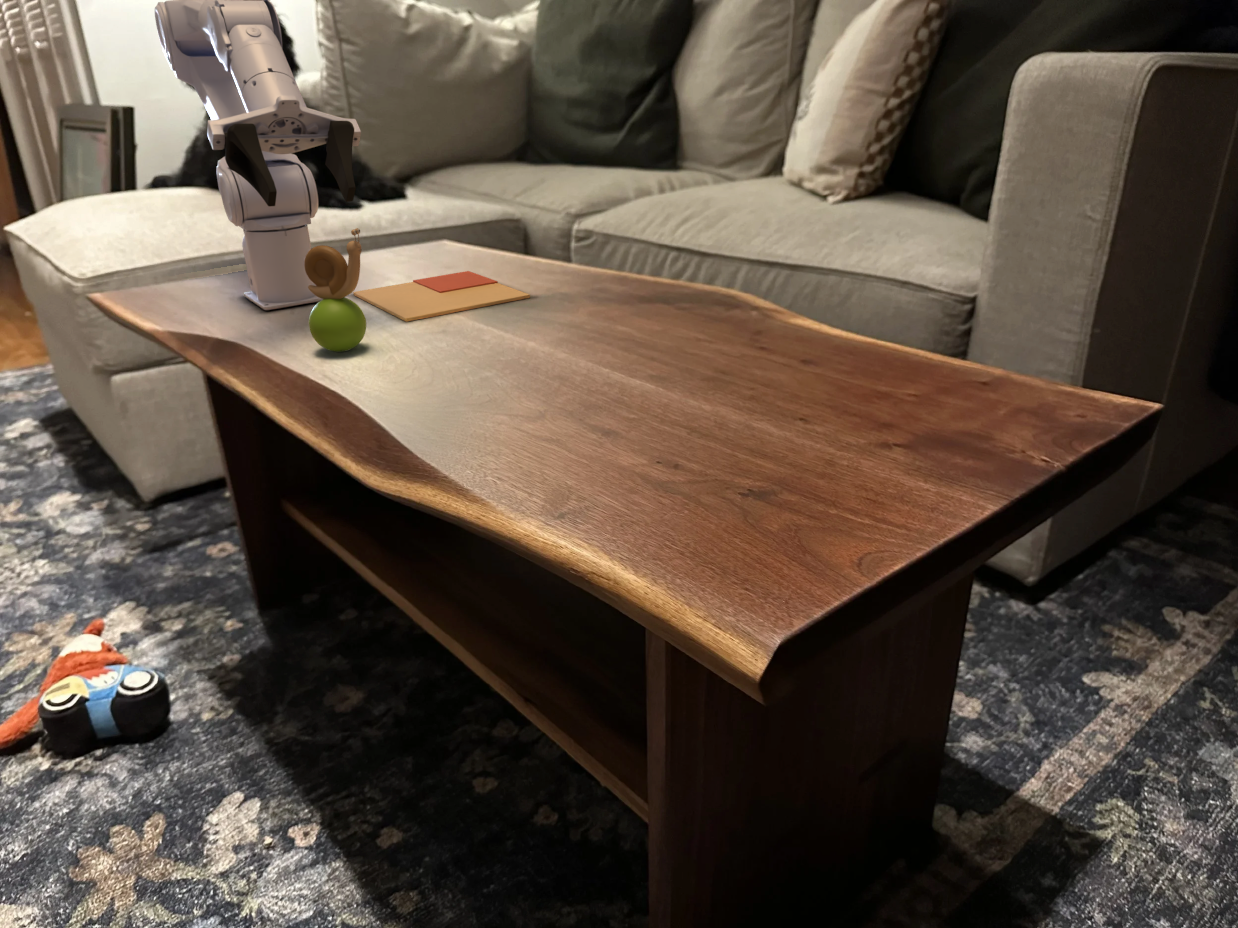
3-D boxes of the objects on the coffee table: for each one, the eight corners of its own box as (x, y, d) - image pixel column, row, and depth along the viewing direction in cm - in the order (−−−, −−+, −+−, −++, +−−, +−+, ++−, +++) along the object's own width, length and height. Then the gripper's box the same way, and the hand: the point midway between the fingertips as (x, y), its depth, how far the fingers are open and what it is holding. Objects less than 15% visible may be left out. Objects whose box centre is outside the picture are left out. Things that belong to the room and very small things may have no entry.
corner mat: (353, 295, 108) (352, 290, 108) (468, 275, 117) (468, 271, 116) (406, 322, 97) (405, 316, 96) (530, 297, 105) (530, 292, 105)
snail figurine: (363, 360, 84) (344, 234, 79) (303, 357, 86) (280, 233, 80) (388, 343, 89) (371, 224, 84) (330, 341, 90) (310, 223, 85)
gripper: (194, 60, 82) (236, 170, 79) (345, 64, 90) (390, 164, 86) (194, 118, 88) (233, 223, 84) (336, 117, 96) (378, 213, 92)
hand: (312, 197), depth 86 cm, fingers open, 7 cm apart
